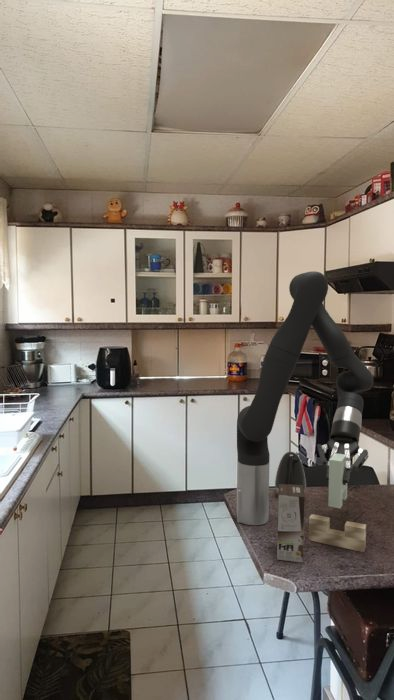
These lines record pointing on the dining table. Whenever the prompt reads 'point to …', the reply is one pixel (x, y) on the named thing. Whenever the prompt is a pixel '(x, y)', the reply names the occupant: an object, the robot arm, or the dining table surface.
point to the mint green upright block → (337, 481)
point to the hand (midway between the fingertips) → (336, 482)
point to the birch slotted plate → (337, 533)
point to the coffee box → (290, 522)
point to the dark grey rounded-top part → (290, 471)
